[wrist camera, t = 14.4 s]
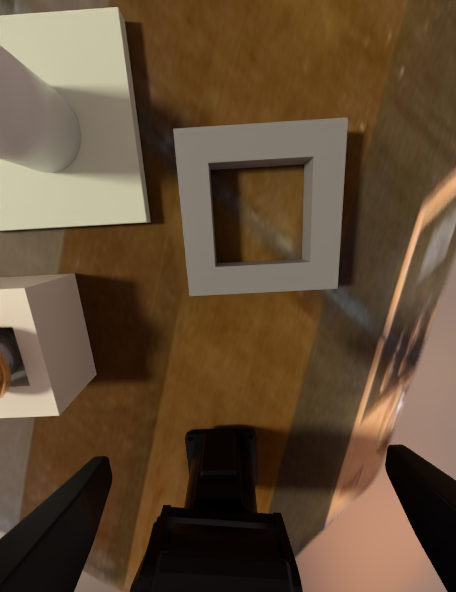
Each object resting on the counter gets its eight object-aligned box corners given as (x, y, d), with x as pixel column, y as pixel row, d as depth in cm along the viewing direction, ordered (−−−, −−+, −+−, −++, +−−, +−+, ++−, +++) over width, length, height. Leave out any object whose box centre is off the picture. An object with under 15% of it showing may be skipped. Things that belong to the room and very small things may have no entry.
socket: (326, 282, 20) (337, 288, 18) (193, 289, 20) (189, 296, 18) (334, 130, 17) (348, 117, 15) (179, 139, 17) (173, 128, 15)
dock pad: (150, 222, 19) (146, 222, 18) (-8, 231, 19) (-21, 231, 18) (124, 20, 15) (117, 6, 15) (-65, 34, 16) (-84, 21, 15)
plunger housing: (96, 374, 22) (59, 415, 17) (18, 378, 22) (-41, 419, 17) (74, 273, 20) (24, 287, 15) (-13, 278, 20) (-91, 294, 15)
